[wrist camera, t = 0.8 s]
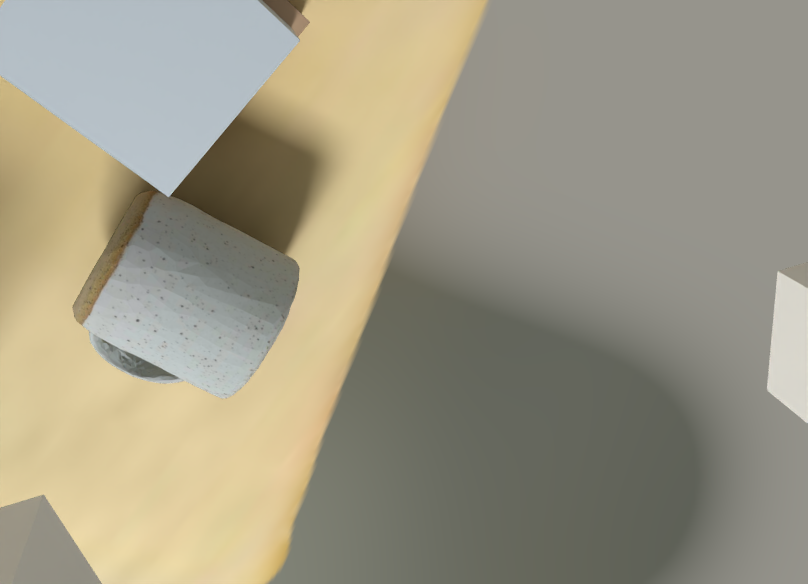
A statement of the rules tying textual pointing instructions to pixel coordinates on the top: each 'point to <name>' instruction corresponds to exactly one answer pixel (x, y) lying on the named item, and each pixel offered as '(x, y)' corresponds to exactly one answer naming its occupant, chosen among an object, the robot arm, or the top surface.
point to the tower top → (144, 71)
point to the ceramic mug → (185, 297)
